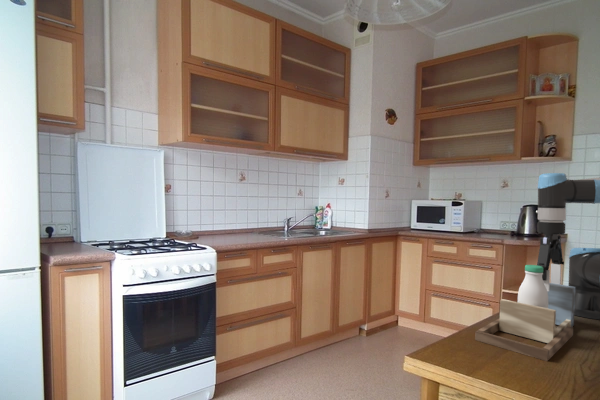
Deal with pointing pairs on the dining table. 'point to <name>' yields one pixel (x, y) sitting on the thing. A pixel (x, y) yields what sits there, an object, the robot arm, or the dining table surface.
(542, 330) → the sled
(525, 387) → the dining table surface
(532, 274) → the milk bottle
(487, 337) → the dark wooden tray
